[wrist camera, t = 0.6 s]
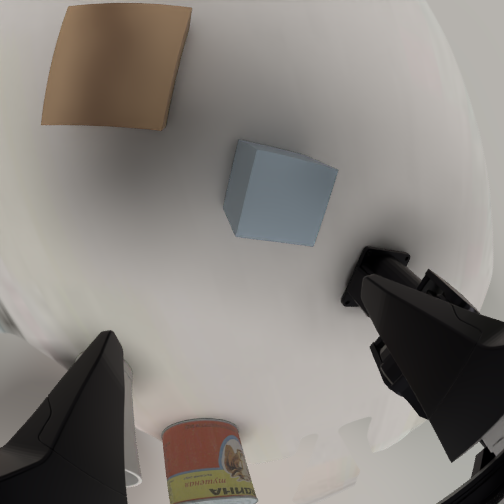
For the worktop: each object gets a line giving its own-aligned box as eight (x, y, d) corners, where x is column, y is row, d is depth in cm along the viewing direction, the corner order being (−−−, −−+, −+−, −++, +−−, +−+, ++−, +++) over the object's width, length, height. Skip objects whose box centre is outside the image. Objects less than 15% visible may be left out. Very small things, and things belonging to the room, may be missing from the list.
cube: (304, 154, 20) (338, 169, 16) (286, 217, 22) (313, 246, 18) (238, 139, 18) (257, 149, 14) (222, 207, 21) (235, 236, 16)
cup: (74, 385, 25) (63, 478, 15) (62, 338, 22) (36, 447, 12) (140, 395, 28) (144, 490, 18) (140, 349, 25) (139, 466, 14)
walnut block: (189, 29, 14) (192, 7, 10) (165, 126, 17) (161, 130, 13) (89, 25, 12) (68, 6, 8) (69, 120, 15) (41, 125, 11)
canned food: (252, 432, 37) (273, 499, 27) (197, 454, 38) (209, 516, 28) (204, 409, 32) (222, 495, 21) (145, 435, 33) (151, 509, 22)
